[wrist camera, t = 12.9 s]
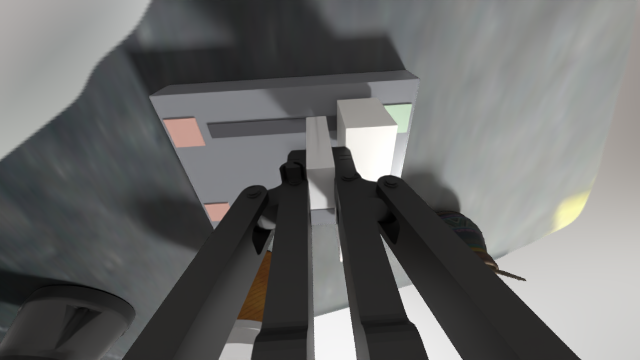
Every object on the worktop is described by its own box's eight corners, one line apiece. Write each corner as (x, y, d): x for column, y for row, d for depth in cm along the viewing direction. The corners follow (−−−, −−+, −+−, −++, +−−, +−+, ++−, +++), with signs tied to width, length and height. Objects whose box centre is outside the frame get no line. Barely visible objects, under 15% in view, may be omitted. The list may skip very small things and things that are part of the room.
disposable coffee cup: (211, 249, 33) (171, 350, 23) (273, 234, 31) (259, 335, 22) (243, 282, 38) (222, 375, 29) (298, 271, 37) (294, 364, 27)
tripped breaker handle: (337, 147, 20) (344, 183, 16) (336, 100, 17) (346, 128, 13) (372, 145, 20) (388, 180, 16) (377, 97, 17) (398, 125, 13)
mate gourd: (400, 227, 32) (432, 301, 24) (448, 192, 28) (504, 265, 20) (431, 246, 34) (470, 318, 26) (478, 217, 31) (538, 289, 23)
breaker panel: (222, 212, 28) (214, 232, 26) (168, 85, 19) (147, 96, 17) (384, 201, 29) (392, 220, 26) (406, 69, 19) (421, 79, 17)
